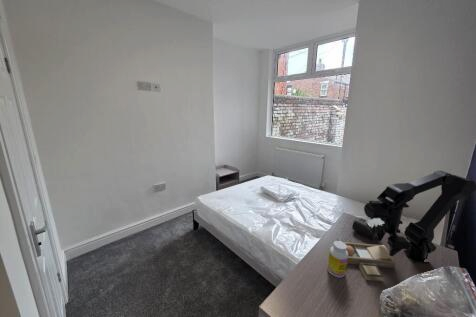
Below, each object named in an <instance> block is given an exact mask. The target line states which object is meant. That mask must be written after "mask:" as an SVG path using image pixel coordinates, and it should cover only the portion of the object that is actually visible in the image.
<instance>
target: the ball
mask: <svg viewBox="0 0 476 317" xmlns="http://www.w3.org/2000/svg"><path fill="white" fill-rule="evenodd" d="M347 252H348V256H353V255H354V253H355V251H354V249H353V247H351V246H349V245H347Z"/></svg>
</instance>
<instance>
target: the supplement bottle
mask: <svg viewBox="0 0 476 317" xmlns="http://www.w3.org/2000/svg"><path fill="white" fill-rule="evenodd" d="M343 242H344V241H342V240H341V241H337V240H335V241H333V244H332V245H331V247H330V248H329V253H328V261H327V268H326V269H327V271H328V273H330V275H332V276H333V277H335V278H343V277H344V276H346V272H347V266H348V263H347V262H348V252H347V245H346V244H345V243H343Z"/></svg>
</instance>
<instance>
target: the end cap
mask: <svg viewBox="0 0 476 317" xmlns="http://www.w3.org/2000/svg"><path fill="white" fill-rule="evenodd" d="M351 228H352V230H353V231H355V232H356V233H358V234H361V235H362V236H365V237H367V238H369V239H371V240H373V241H374V240H375V239H376V238H377V233H371V232H370V230H369V229H368V228H367V224H366V219H363V218H359V219H356V218H355V220H353V223H352V227H351Z"/></svg>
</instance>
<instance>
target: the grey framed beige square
mask: <svg viewBox="0 0 476 317" xmlns="http://www.w3.org/2000/svg"><path fill="white" fill-rule="evenodd" d="M358 268H359V270H360V272H361V274H362V275H363V277H364V279H365V280H367V281H375V282H384V274H383V273H382V271H381V270H380V268H379V267H378V266H377V265H376V264H370V263H360V265H358Z"/></svg>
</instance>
